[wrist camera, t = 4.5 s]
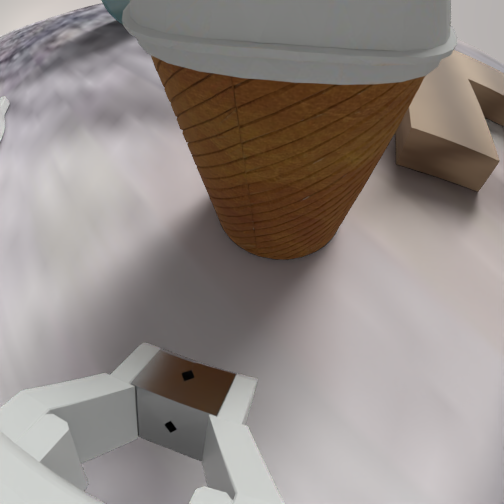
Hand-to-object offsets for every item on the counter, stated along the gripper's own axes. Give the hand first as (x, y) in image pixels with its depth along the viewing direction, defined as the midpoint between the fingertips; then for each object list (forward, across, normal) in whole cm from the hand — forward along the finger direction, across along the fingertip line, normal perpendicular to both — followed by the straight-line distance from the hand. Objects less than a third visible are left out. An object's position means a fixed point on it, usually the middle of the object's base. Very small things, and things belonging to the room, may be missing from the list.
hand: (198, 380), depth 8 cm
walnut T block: (+19, -9, -12) cm, 25 cm away
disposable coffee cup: (+10, 0, -3) cm, 11 cm away
